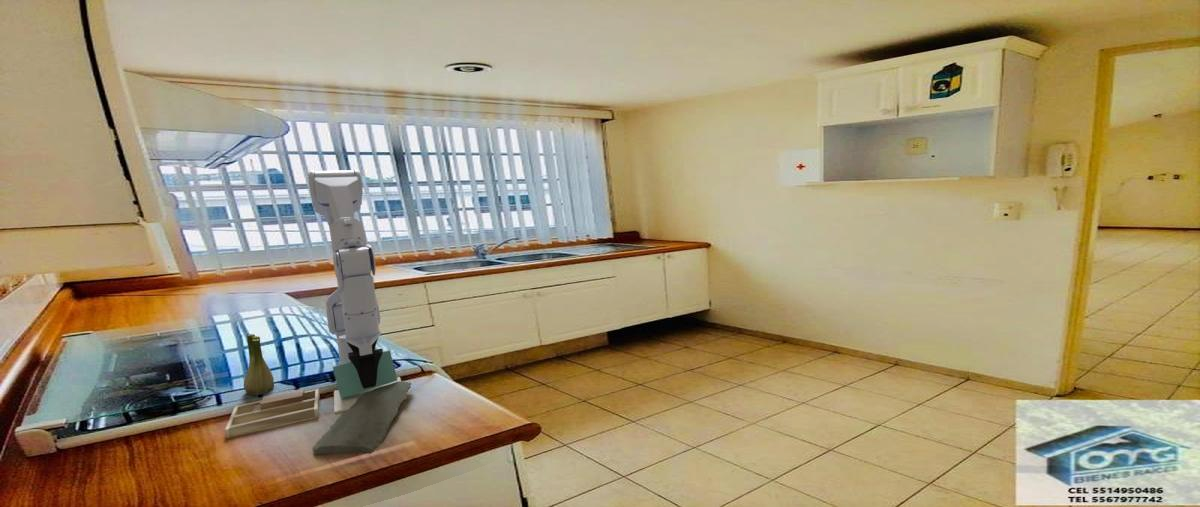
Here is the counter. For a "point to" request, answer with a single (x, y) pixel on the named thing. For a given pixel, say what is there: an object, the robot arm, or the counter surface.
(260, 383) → the fennel bulb
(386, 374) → the board
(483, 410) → the counter surface
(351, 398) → the tile
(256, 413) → the rack
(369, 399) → the stone slab
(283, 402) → the offcut top
